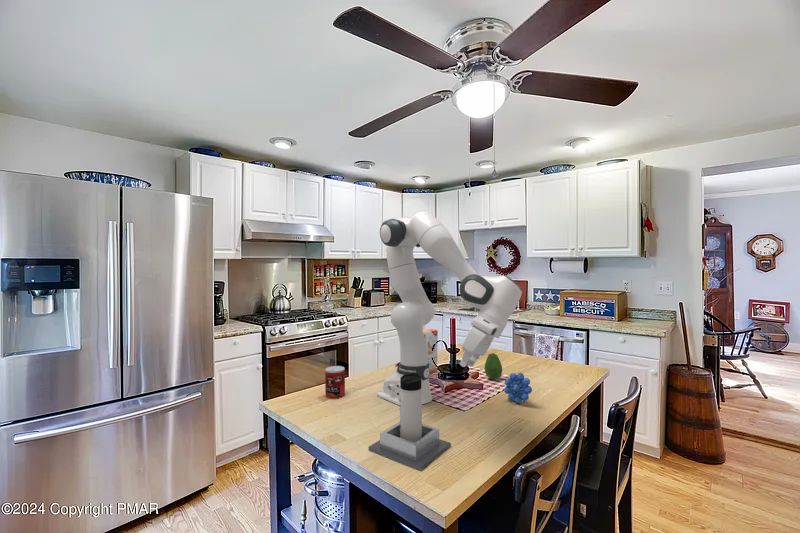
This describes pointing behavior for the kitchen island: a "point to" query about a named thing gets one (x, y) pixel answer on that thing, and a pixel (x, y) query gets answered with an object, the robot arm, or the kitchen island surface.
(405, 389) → the travel mug
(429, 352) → the cracker box
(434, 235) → the robot arm
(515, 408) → the kitchen island surface
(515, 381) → the grapes
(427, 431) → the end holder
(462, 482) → the kitchen island surface
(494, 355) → the avocado
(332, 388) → the canned food
